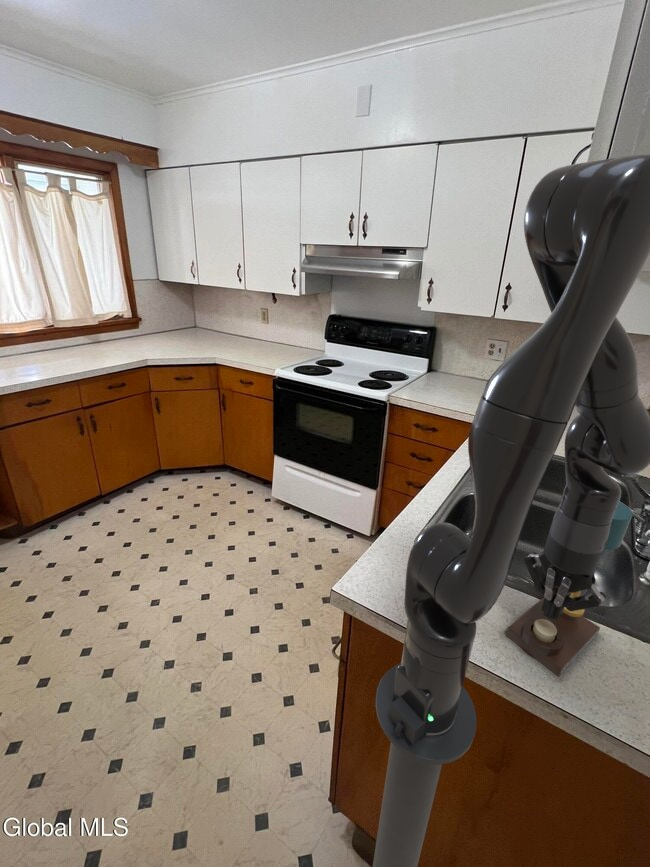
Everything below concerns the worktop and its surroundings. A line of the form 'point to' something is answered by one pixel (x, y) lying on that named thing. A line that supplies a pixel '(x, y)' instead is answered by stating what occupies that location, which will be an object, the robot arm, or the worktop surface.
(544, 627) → the lamp switch
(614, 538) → the lamp
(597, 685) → the worktop surface
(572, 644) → the lamp base
